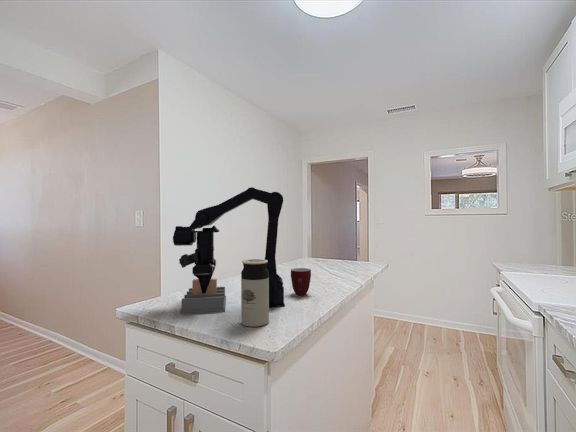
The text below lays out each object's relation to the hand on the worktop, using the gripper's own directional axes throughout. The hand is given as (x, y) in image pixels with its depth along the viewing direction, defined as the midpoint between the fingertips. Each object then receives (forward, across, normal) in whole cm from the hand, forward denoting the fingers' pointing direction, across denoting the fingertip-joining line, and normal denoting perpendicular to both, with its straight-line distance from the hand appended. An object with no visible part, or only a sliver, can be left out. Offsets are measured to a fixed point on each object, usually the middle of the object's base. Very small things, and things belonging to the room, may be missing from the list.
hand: (205, 290), depth 101 cm
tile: (+4, 0, 0) cm, 4 cm away
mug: (+6, -7, +36) cm, 37 cm away
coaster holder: (+6, 0, 0) cm, 6 cm away
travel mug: (+6, +20, +16) cm, 26 cm away
